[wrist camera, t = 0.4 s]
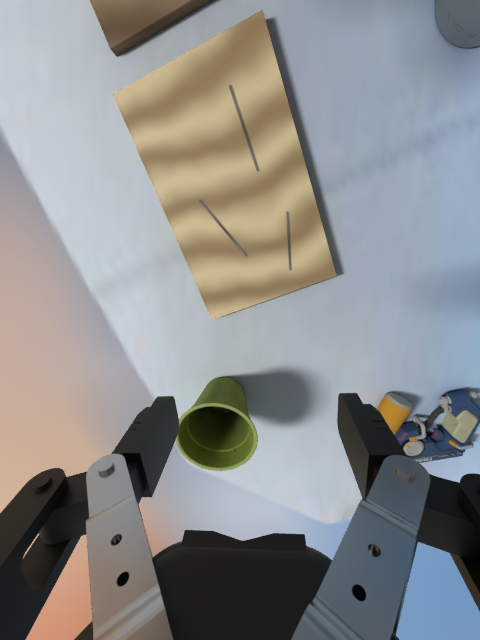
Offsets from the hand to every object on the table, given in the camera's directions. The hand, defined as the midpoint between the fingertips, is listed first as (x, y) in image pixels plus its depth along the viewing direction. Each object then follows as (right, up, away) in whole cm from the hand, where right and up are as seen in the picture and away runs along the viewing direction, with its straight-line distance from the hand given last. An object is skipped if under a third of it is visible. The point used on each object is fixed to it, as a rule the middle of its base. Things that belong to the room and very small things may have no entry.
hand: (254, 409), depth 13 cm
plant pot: (-3, -9, +36) cm, 37 cm away
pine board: (-2, +22, +25) cm, 33 cm away
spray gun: (+30, -14, +35) cm, 48 cm away
